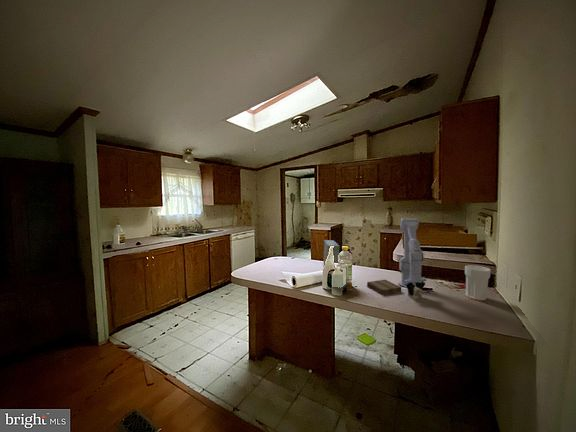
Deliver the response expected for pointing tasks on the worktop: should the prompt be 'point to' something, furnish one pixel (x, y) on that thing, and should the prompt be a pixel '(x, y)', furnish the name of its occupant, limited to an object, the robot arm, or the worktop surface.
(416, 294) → the birch cube
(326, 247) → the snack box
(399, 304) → the worktop surface
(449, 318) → the worktop surface
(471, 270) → the cup
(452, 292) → the worktop surface
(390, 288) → the walnut base
